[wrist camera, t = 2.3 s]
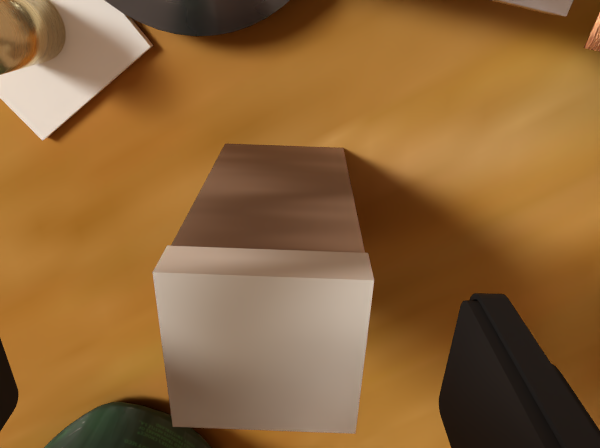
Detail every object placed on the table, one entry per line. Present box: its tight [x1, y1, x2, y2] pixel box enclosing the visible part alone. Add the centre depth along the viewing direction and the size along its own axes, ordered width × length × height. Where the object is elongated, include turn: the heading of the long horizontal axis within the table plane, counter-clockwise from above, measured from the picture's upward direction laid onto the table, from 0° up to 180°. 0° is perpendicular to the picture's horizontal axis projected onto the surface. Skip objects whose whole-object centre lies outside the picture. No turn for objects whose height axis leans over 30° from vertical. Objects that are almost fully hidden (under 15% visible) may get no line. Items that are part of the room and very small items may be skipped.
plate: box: [0, 0, 153, 140], centre depth 14 cm, size 5×5×1 cm
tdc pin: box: [0, 0, 66, 75], centre depth 13 cm, size 2×2×3 cm
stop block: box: [153, 144, 374, 433], centre depth 13 cm, size 4×4×8 cm
